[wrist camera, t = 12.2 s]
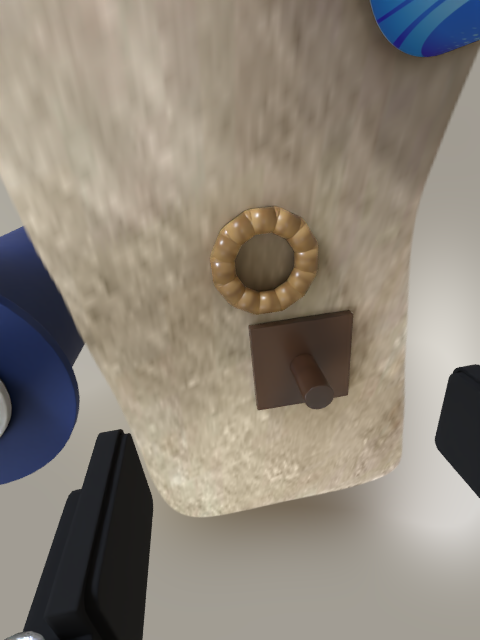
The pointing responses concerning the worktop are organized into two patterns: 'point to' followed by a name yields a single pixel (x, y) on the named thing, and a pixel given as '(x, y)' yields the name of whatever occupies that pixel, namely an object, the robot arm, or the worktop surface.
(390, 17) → the beer can
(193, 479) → the worktop surface
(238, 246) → the ring
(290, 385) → the peg stand
